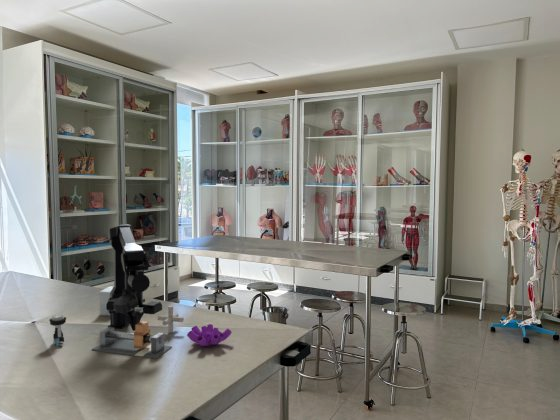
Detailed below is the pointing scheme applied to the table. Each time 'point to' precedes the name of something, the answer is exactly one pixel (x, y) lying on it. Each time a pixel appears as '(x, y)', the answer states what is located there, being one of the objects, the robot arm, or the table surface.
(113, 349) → the grey base plate
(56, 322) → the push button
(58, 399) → the table surface
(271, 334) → the table surface
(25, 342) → the table surface
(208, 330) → the purple tube cluster
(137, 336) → the collar
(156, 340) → the linear slide rail
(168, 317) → the pipe connector
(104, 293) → the skincare box
